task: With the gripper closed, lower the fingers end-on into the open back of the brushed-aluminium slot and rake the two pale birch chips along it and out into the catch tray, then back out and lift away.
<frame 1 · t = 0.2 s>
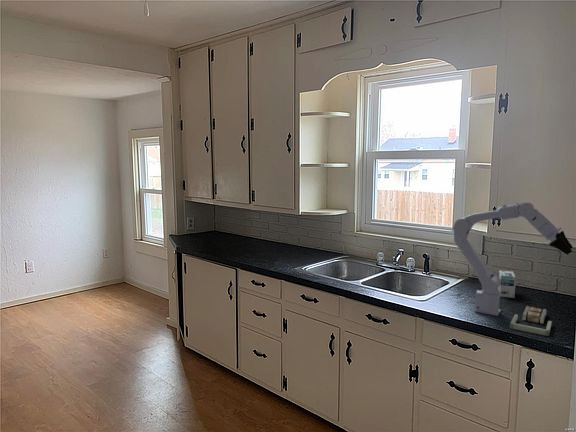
hand: (570, 250, 170), 31 cm above the worktop, tool tilted 45°, fingers open, 7 cm apart
chip a: (533, 320, 180), on the worktop
slot rails: (534, 317, 183), on the worktop
light bulb box: (505, 294, 213), on the worktop
chip b: (534, 316, 185), on the worktop
catch tray: (530, 326, 173), on the worktop
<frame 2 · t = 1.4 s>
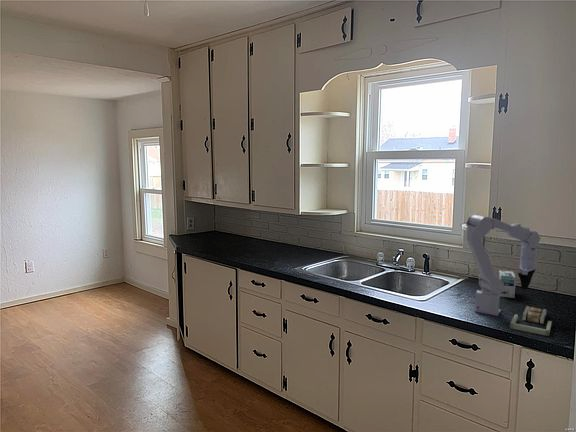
hand: (525, 286, 191), 10 cm above the worktop, tool pointing down, fingers open, 7 cm apart
nothing on the worktop moved.
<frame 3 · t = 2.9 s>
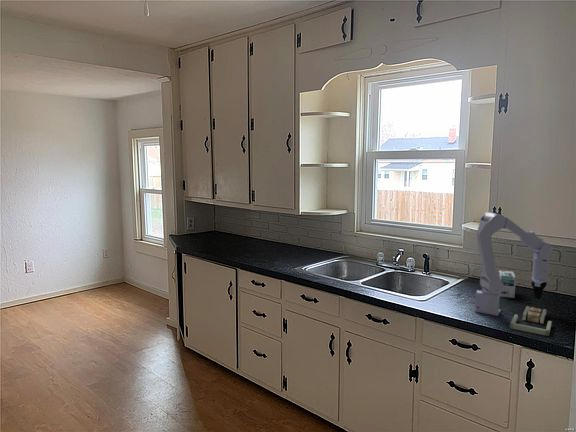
hand: (537, 298, 189), 6 cm above the worktop, tool pointing down, fingers closed
nothing on the worktop moved.
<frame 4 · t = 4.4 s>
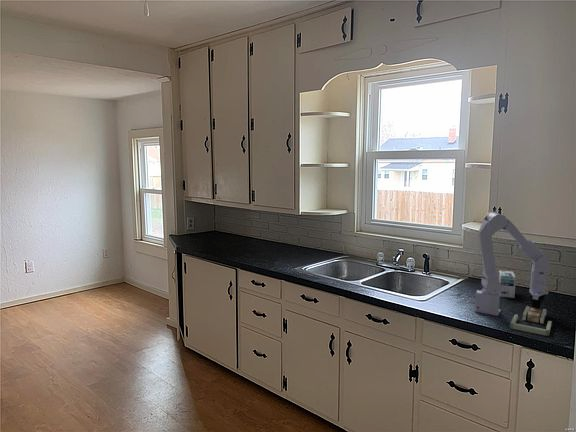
hand: (535, 311, 187), 1 cm above the worktop, tool pointing down, fingers closed
chip b: (535, 316, 184), on the worktop, touching gripper
everything else where it was.
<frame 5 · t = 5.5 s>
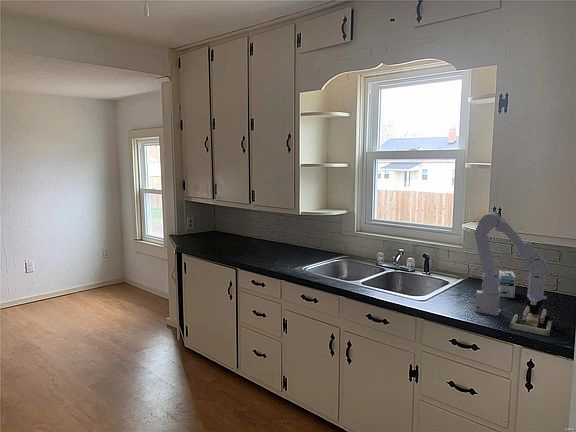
hand: (533, 316, 180), 1 cm above the worktop, tool pointing down, fingers closed
chip a: (531, 325, 175), on the worktop, touching chip b
chip b: (532, 322, 178), on the worktop, touching chip a, gripper
everything else where it was.
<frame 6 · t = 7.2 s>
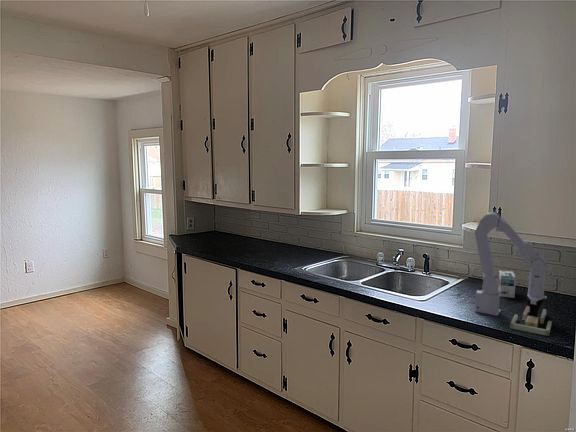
hand: (534, 315, 181), 1 cm above the worktop, tool pointing down, fingers closed
chip a: (530, 328, 172), on the worktop
chip b: (532, 324, 176), on the worktop
everything else where it was.
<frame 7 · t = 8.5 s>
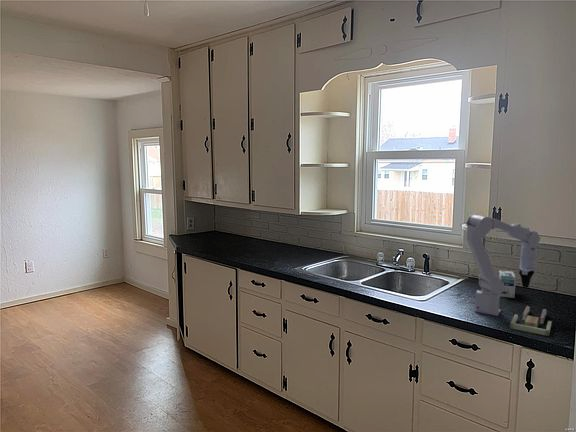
hand: (525, 286, 191), 10 cm above the worktop, tool pointing down, fingers closed
nothing on the worktop moved.
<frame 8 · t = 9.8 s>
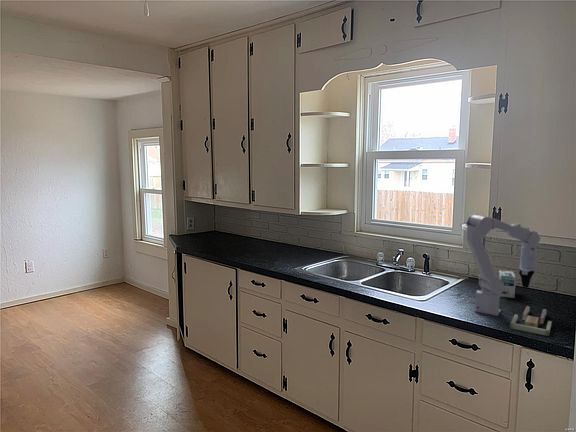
hand: (525, 286, 191), 10 cm above the worktop, tool pointing down, fingers closed
nothing on the worktop moved.
at the end: chip a inside the target area (1.3 cm from its centre), on the worktop; chip b inside the target area (2.7 cm from its centre), on the worktop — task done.
